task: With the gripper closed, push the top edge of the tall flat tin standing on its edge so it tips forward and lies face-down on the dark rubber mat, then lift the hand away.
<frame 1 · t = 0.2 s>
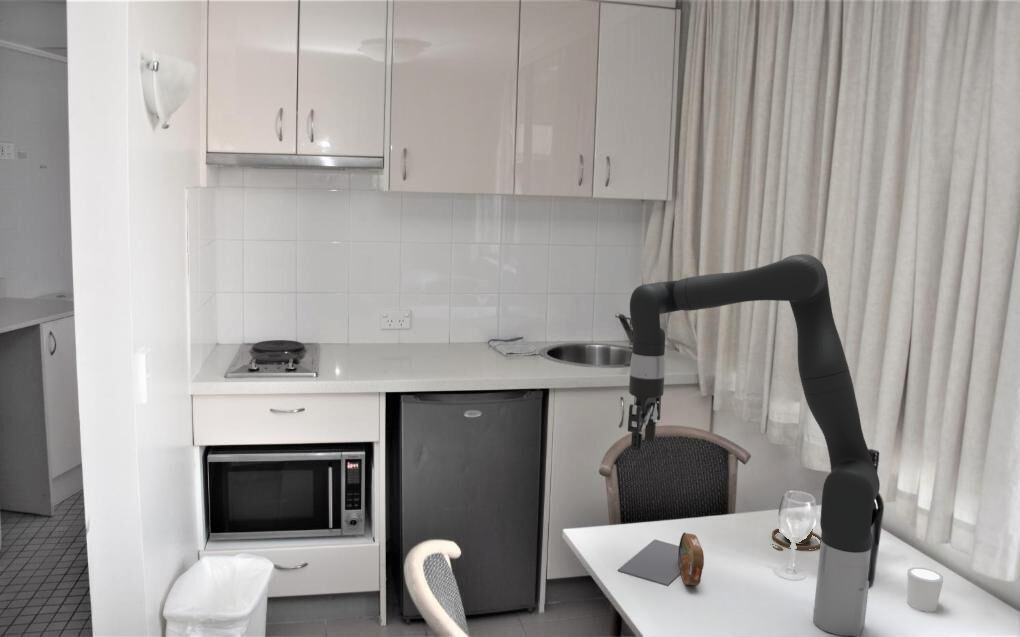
hand: (643, 445, 185), 29 cm above the table, tool pointing down, fingers open, 8 cm apart
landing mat: (660, 561, 192), on the table
white cup: (921, 605, 176), on the table
tin: (688, 576, 185), on the table, touching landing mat
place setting: (808, 550, 204), on the table
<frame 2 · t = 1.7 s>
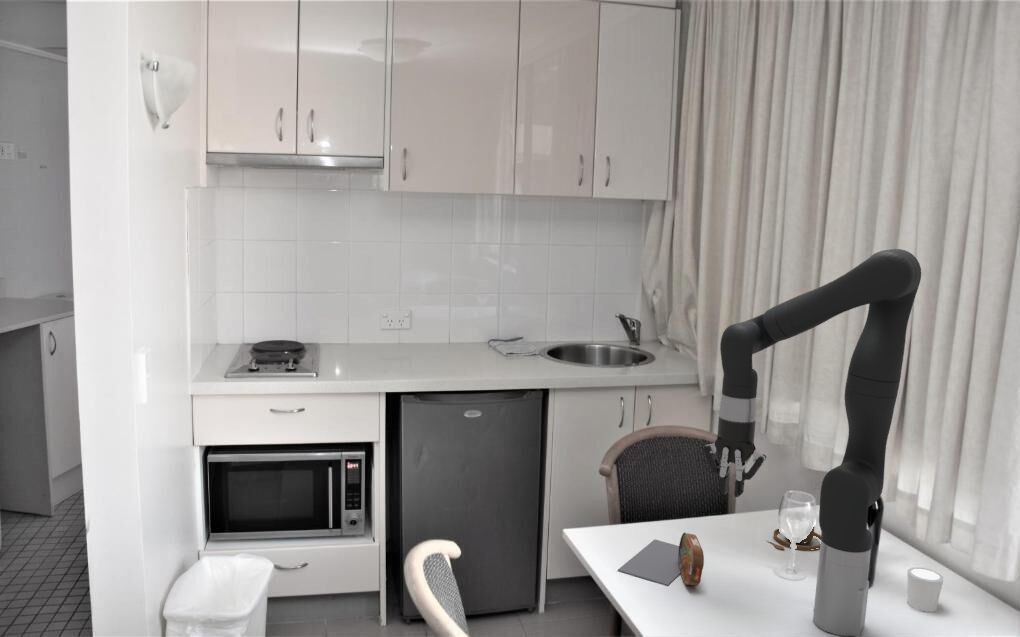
hand: (731, 494, 178), 21 cm above the table, tool pointing down, fingers closed
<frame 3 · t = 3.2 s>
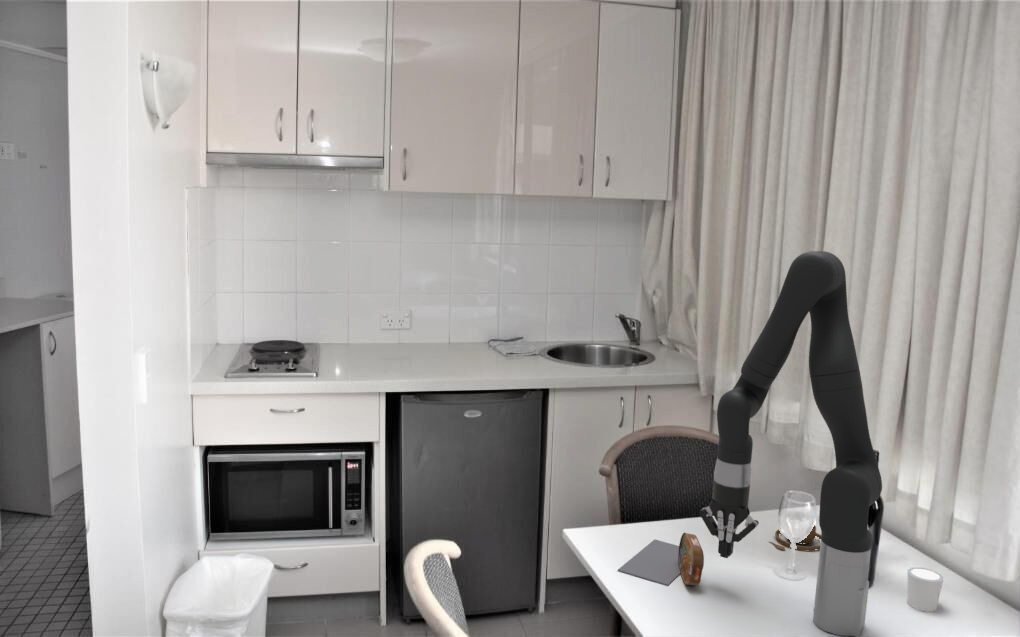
hand: (724, 556, 180), 7 cm above the table, tool pointing down, fingers closed
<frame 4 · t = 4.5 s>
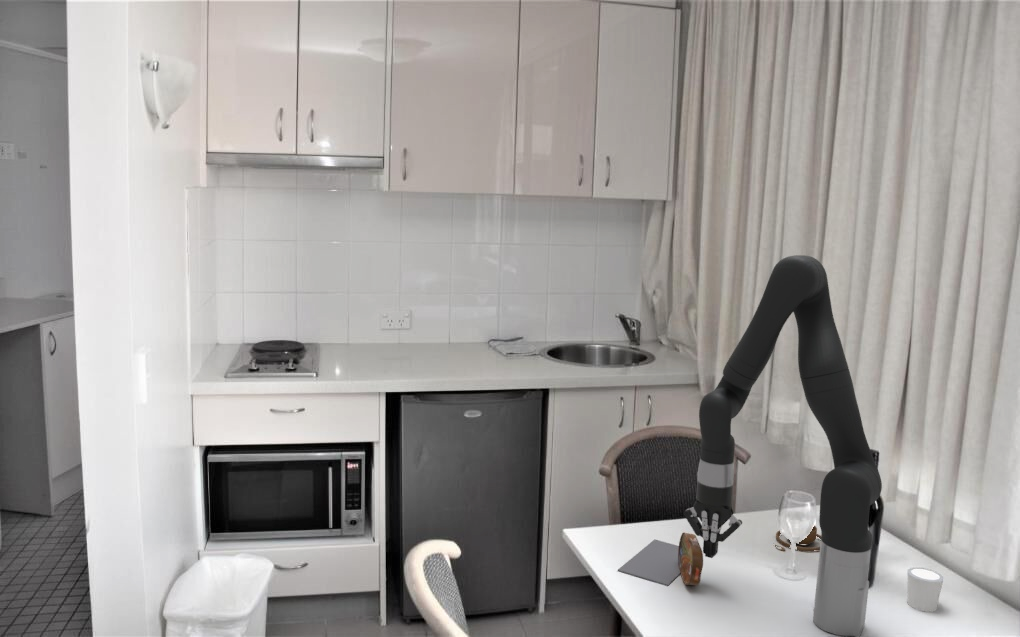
hand: (709, 556, 182), 6 cm above the table, tool pointing down, fingers closed
tin: (688, 576, 185), on the table, touching gripper, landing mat
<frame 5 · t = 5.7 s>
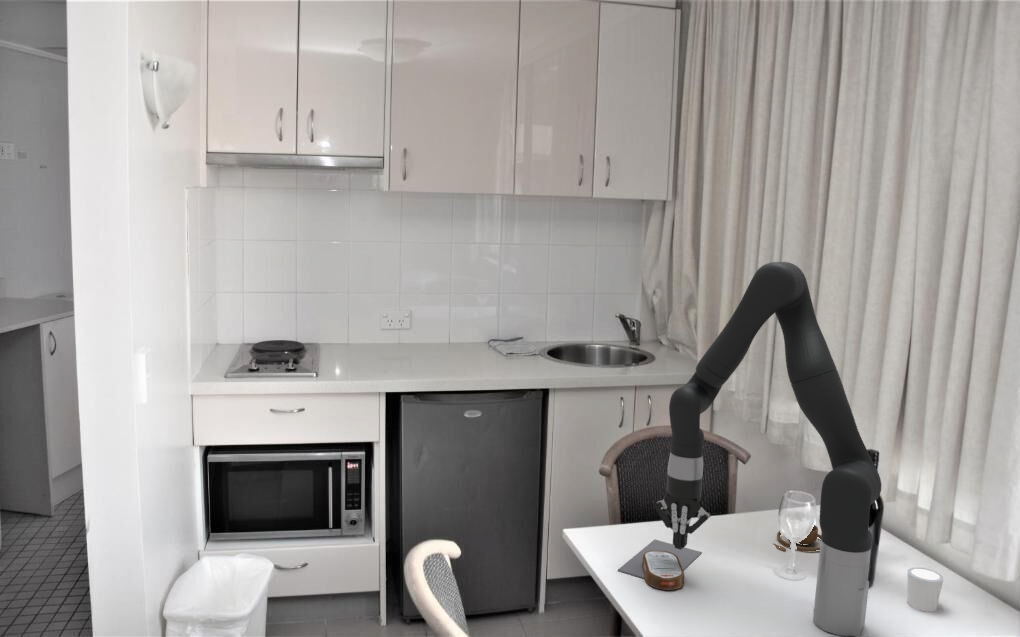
hand: (679, 547, 185), 6 cm above the table, tool pointing down, fingers closed
tin: (682, 568, 185), point 2 cm above the table, touching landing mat
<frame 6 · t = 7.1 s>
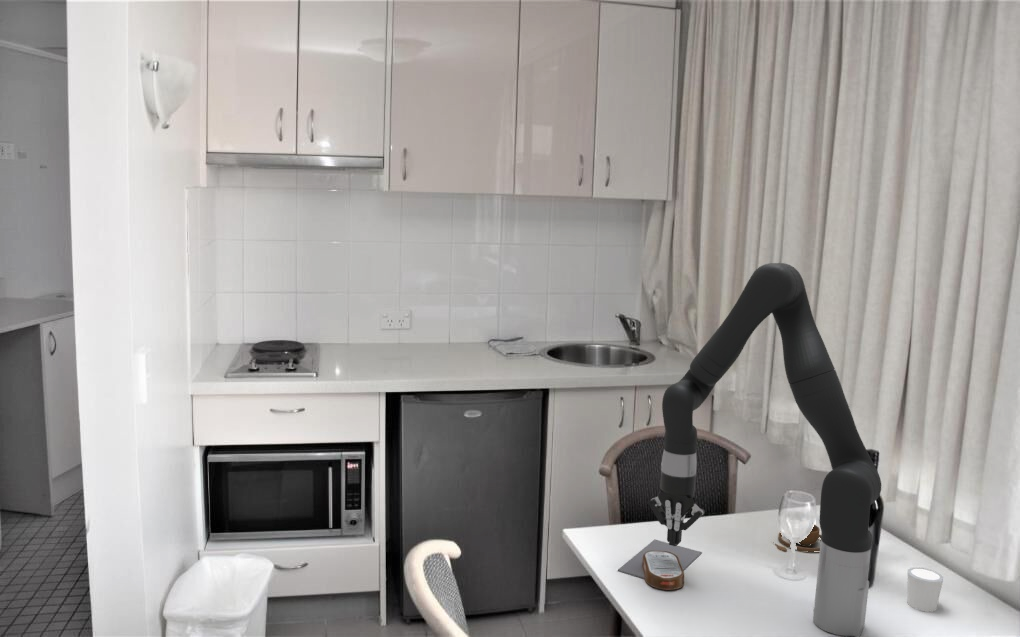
hand: (673, 544, 186), 7 cm above the table, tool pointing down, fingers closed
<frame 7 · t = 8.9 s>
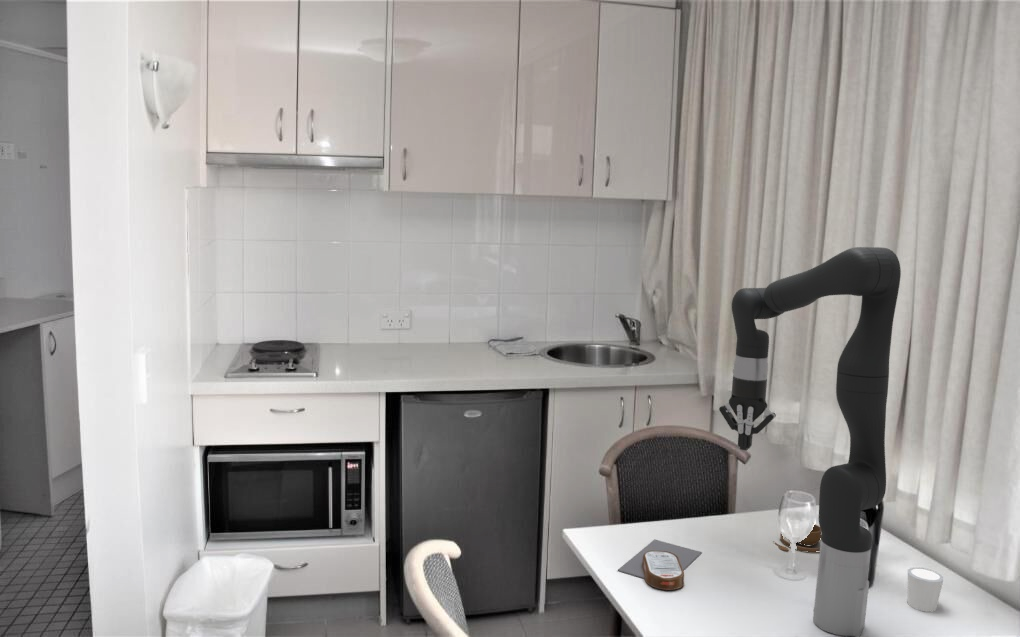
hand: (744, 449, 191), 27 cm above the table, tool pointing down, fingers closed
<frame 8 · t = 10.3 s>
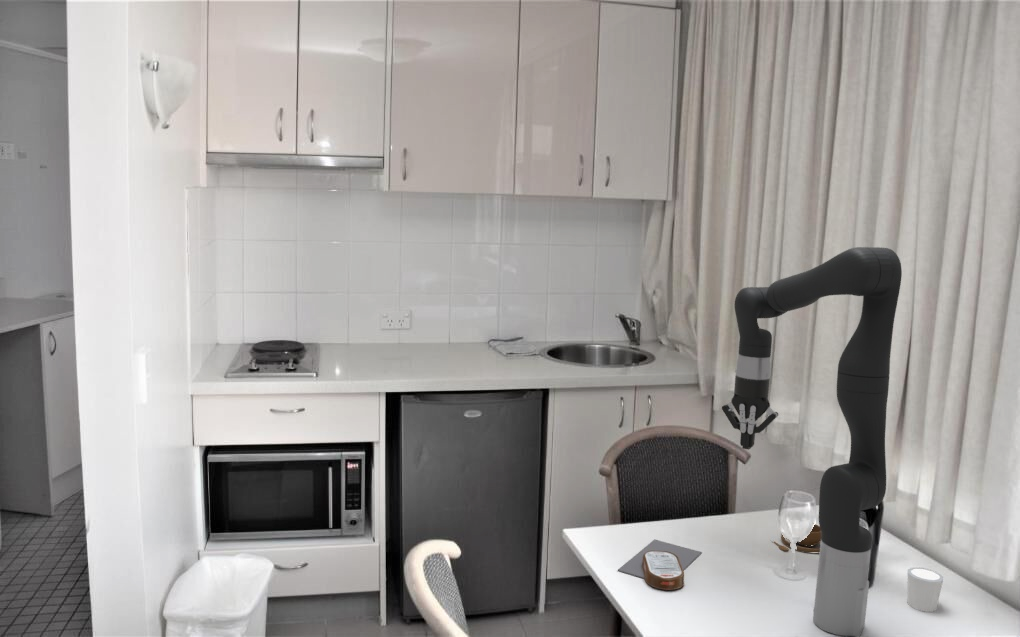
hand: (746, 448, 191), 27 cm above the table, tool pointing down, fingers closed
at the end: tin tilted 94°; tin touching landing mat; tin inside the target area (4.8 cm from its centre), point 1.9 cm above the table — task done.
